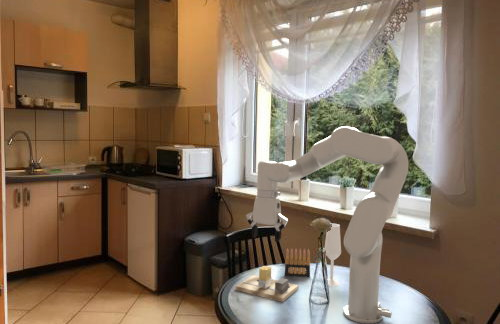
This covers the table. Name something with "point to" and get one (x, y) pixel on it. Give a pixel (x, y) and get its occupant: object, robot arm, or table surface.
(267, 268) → the sliding leg
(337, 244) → the champagne flute
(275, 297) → the board
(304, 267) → the ammunition clip
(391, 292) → the table surface
